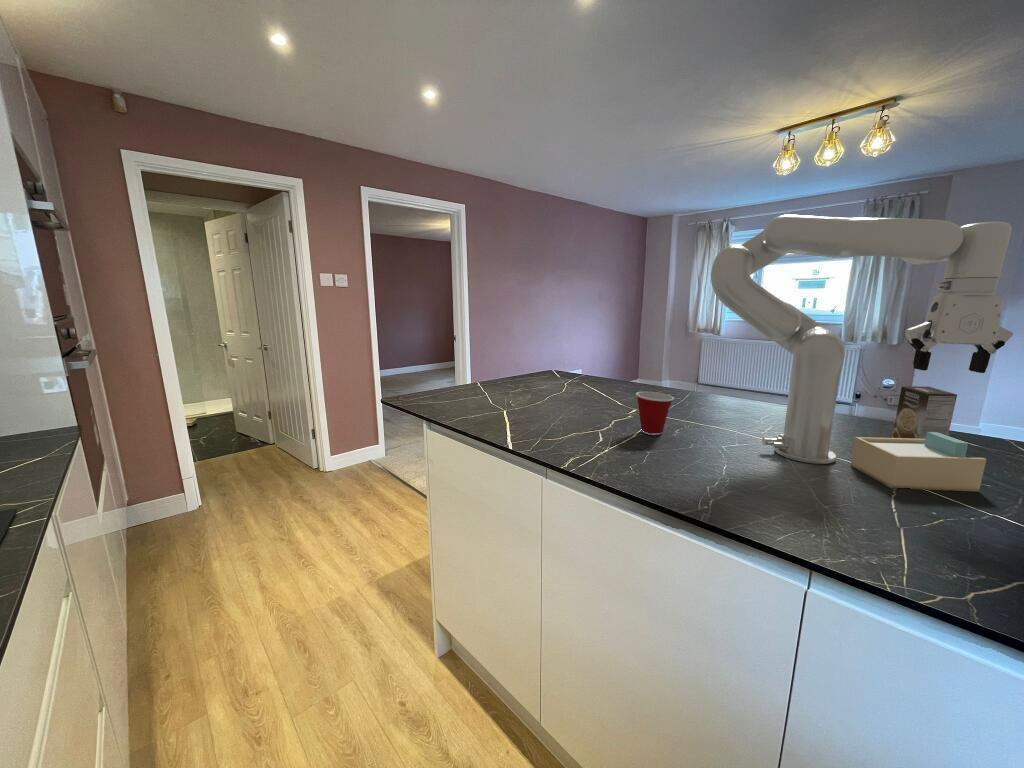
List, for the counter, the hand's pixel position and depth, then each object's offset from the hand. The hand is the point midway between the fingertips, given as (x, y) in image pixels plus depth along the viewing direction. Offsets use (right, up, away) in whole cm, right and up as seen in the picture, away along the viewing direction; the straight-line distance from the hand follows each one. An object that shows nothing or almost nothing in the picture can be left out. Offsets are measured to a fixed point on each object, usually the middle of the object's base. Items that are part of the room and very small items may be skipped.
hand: (947, 370), depth 85 cm
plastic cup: (-50, -18, +36) cm, 64 cm away
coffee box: (+12, -20, +19) cm, 30 cm away
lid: (-5, -18, +2) cm, 19 cm away
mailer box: (-5, -23, +3) cm, 24 cm away
